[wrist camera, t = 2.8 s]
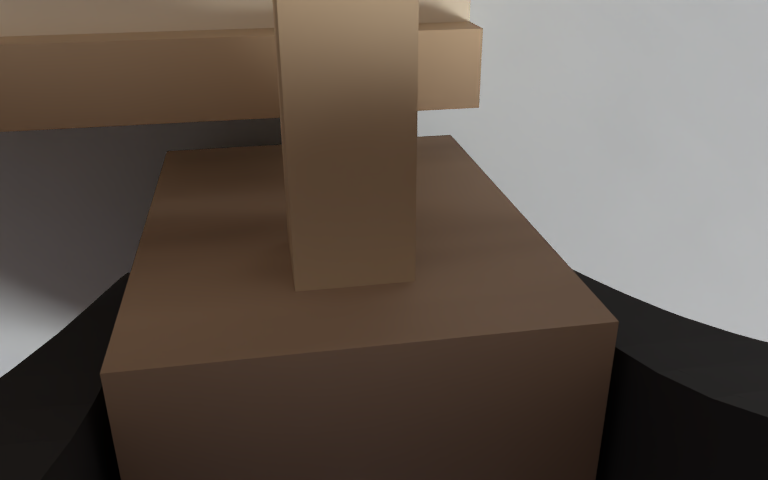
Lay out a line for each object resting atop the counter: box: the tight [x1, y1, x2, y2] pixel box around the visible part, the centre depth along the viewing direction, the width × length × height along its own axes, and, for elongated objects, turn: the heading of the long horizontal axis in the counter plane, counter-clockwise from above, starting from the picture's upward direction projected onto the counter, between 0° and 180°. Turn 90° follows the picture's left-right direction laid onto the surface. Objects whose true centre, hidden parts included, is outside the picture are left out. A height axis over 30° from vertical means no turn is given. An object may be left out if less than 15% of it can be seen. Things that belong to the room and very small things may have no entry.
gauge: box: [100, 0, 619, 480], centre depth 9 cm, size 9×4×6 cm, turn 0°
